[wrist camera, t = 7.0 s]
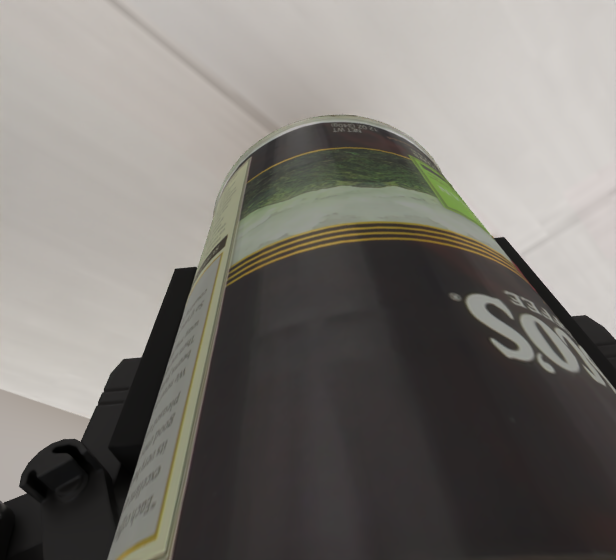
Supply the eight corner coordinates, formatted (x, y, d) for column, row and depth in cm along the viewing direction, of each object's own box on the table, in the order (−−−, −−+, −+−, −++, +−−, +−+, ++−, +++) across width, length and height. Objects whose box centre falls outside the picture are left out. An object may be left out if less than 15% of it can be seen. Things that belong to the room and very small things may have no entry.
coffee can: (366, 42, 12) (1117, 619, 1) (485, 249, 18) (829, 707, 7) (156, 221, 16) (-135, 782, 5) (308, 348, 21) (336, 754, 10)
